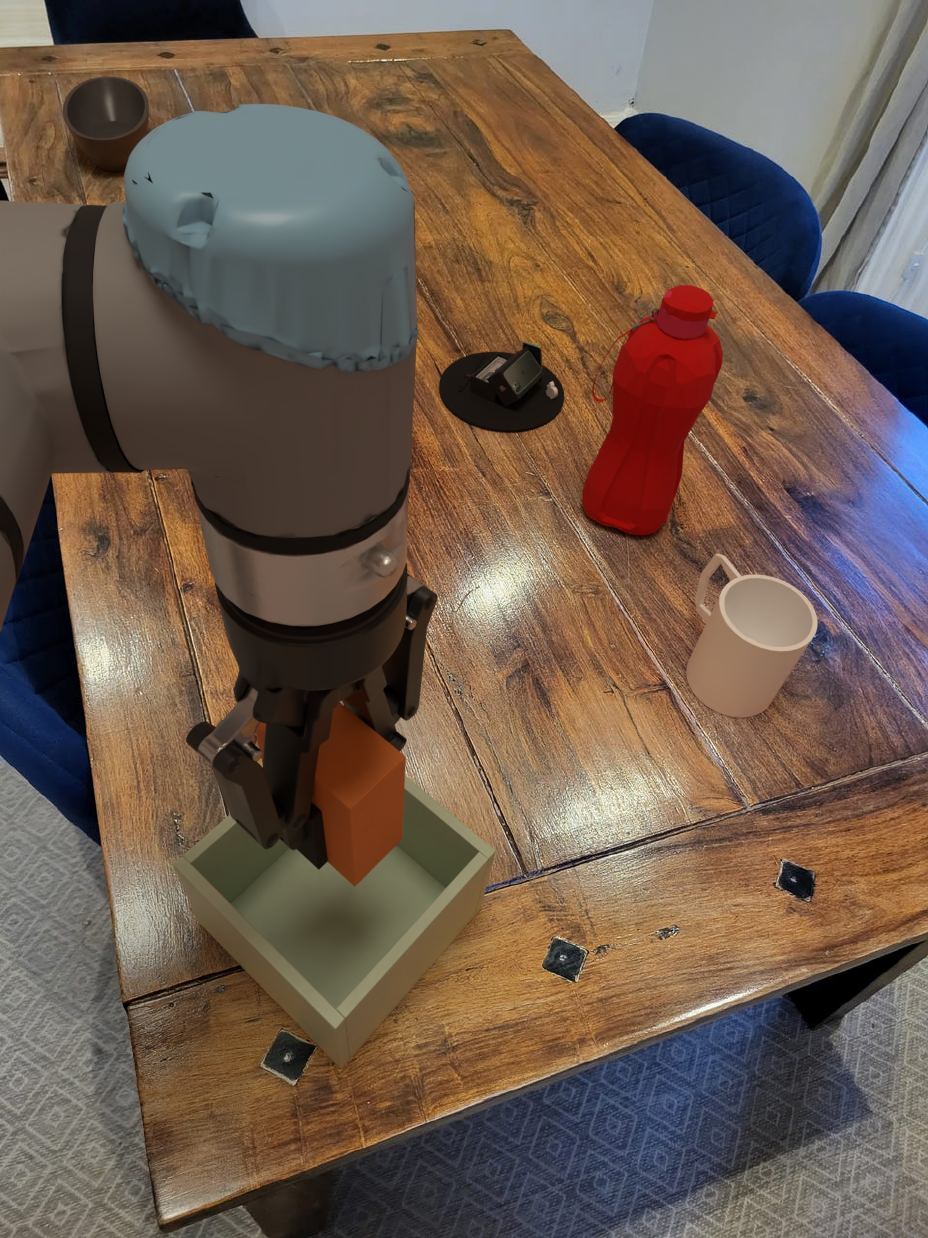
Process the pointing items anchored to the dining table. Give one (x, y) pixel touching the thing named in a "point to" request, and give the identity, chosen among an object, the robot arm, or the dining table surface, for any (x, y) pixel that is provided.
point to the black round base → (502, 390)
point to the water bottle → (654, 412)
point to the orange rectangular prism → (357, 794)
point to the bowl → (107, 119)
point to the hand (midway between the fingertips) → (336, 822)
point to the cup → (747, 640)
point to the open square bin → (339, 917)
